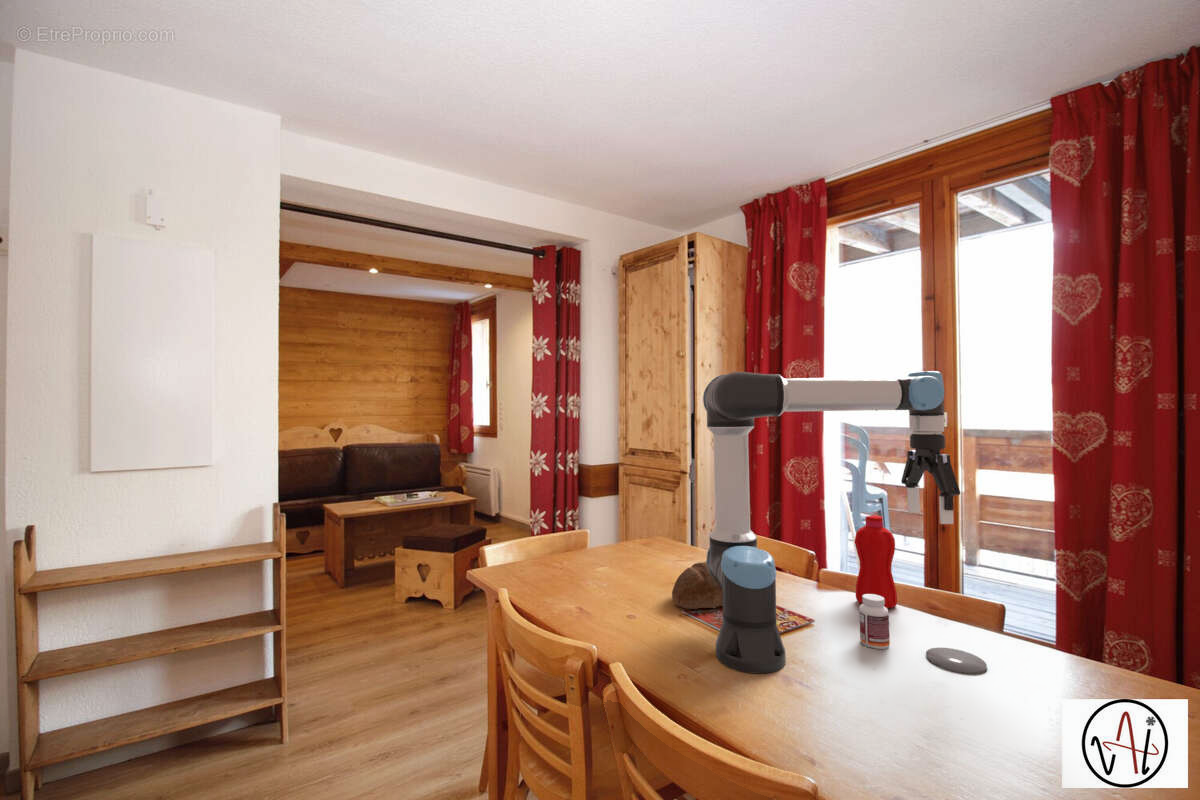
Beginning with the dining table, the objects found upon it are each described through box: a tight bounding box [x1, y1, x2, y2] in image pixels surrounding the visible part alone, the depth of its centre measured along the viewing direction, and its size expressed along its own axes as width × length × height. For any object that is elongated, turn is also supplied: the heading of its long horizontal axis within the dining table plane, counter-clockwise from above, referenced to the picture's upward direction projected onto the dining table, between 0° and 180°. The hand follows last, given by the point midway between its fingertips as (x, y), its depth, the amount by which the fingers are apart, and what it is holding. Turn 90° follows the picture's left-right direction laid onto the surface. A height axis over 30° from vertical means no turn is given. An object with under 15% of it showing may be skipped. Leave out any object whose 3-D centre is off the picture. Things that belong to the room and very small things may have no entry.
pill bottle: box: [858, 594, 890, 650], centre depth 124 cm, size 6×6×11 cm
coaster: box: [925, 647, 988, 675], centre depth 115 cm, size 11×11×1 cm
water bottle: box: [854, 514, 898, 609], centre depth 151 cm, size 9×11×25 cm
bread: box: [671, 560, 723, 610], centre depth 157 cm, size 16×29×11 cm, turn 125°
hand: (929, 518), depth 132 cm, fingers open, 13 cm apart
